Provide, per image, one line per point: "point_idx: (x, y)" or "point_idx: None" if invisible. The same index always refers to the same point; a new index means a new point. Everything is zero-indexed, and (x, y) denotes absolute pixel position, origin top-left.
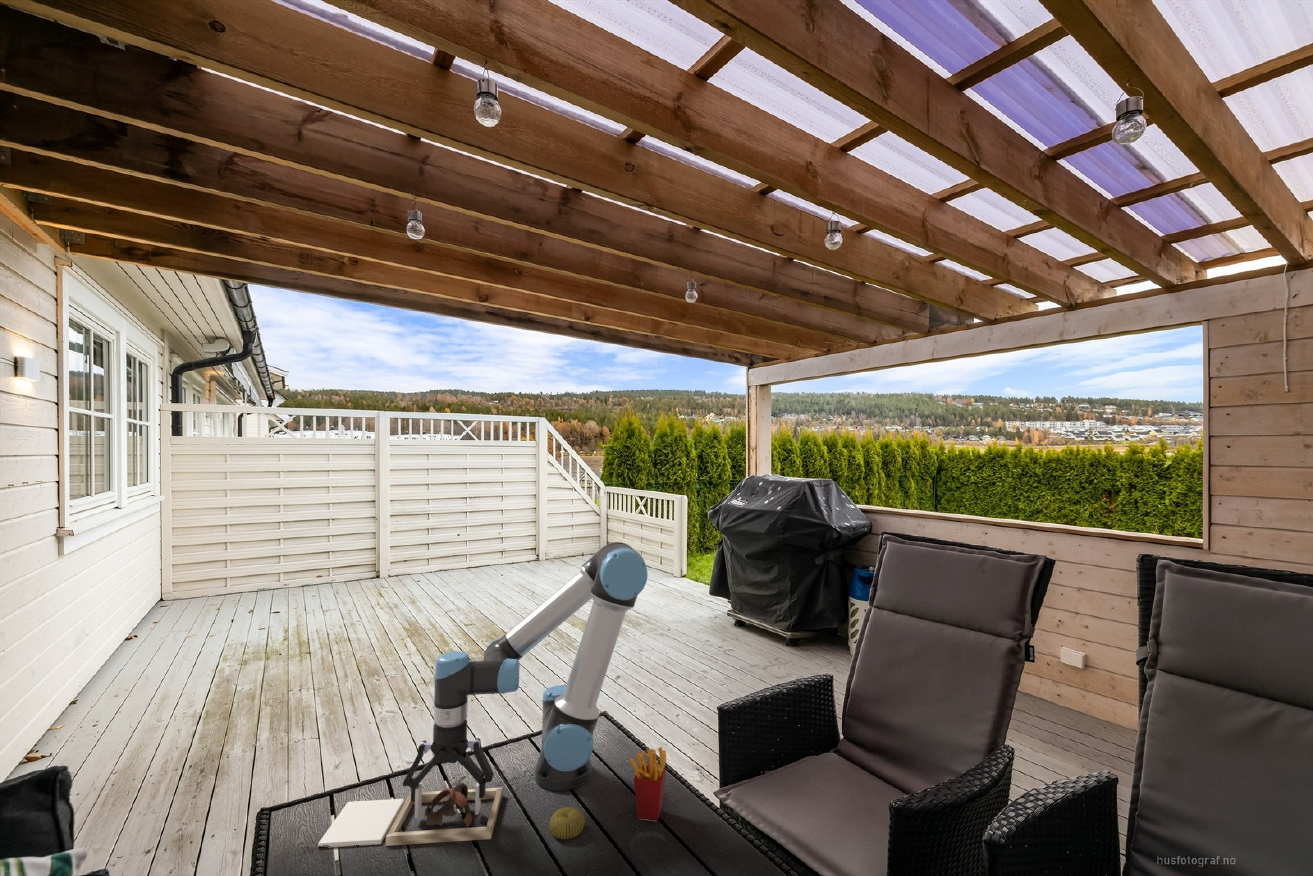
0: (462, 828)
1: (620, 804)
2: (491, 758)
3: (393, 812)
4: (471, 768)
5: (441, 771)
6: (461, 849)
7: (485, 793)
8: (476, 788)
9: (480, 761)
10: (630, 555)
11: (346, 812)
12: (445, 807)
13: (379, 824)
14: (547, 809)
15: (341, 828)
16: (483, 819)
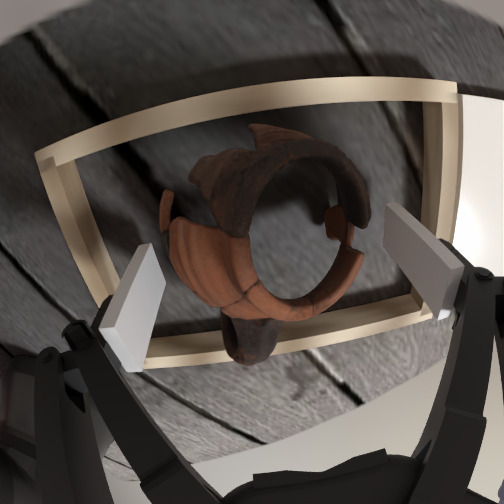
0: (144, 133)
1: None
2: (253, 439)
3: (460, 237)
4: (112, 426)
5: (359, 399)
6: (128, 64)
7: (181, 349)
8: (112, 319)
9: (49, 460)
10: None
11: None
12: (246, 171)
13: (483, 177)
14: (3, 298)
15: None
16: (130, 243)
